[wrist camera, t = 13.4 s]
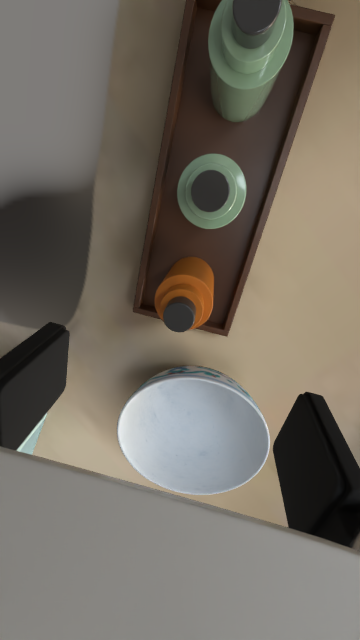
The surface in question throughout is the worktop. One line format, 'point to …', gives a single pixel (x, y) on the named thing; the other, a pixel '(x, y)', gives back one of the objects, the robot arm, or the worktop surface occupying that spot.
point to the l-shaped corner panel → (31, 438)
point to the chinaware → (193, 431)
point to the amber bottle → (186, 295)
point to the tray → (232, 141)
